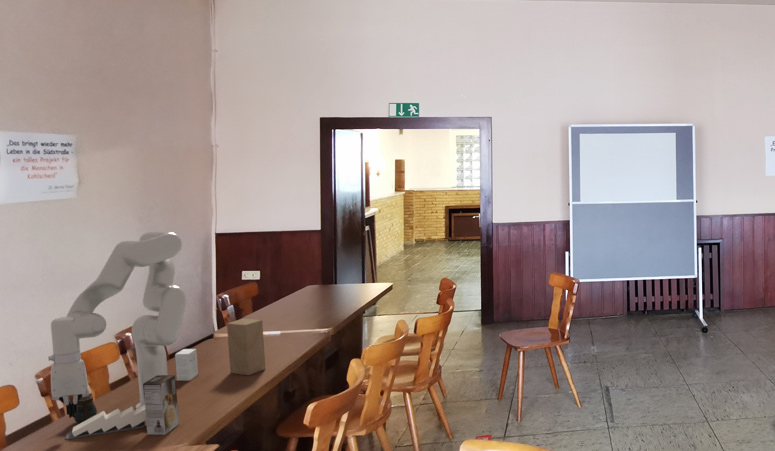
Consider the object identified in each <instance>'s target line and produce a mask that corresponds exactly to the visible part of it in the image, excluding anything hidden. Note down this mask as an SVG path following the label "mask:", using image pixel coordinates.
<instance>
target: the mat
mask: <svg viewBox="0 0 775 451" xmlns="http://www.w3.org/2000/svg"><path fill="white" fill-rule="evenodd" d="M142 428H143V429H144V428H146V426H145V421H143V422H142V423H140V424H138V425H136V426H134V427H133V428H132V426H131V424H128V425H126V426H124V427H123V428H121V429H119V430H118V429H117V427H116V426H114V427H112V428H111V429H109V430H107V431H105V432H104V431H103V430H102V428H100V429H99V430H97V431H95V432H93V433H91V434H89V432H88V431H87V430H86V431H84V432H83V433H81V434H79V435H77V436H75V437H74V435H73V434H72V431H67V432H66V435H65V441H66V440H67V441H68V440H73V439H79V438H80V439H81V438H84V437H91V436H99V435H103V434H111V433H116V432H123V431H124V432H125V431H130V430H135V429H142Z"/></svg>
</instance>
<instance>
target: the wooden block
mask: <svg viewBox="0 0 775 451" xmlns="http://www.w3.org/2000/svg"><path fill="white" fill-rule="evenodd" d="M263 323H264V322H263V320H261V319H255V318H242V319H238V320H234V321H231V322H228V323H226V329H227V341H228V342H227V343H228V358H229V371H230V373H231V374H235V375H236V374H237V375H241V376H242V375H243V376H250V375H253V374H256V373H259V372H261V371H264V370H265V369H266V368H267V367H266V356H265V354H266V353H265V342H264V325H263Z"/></svg>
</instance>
